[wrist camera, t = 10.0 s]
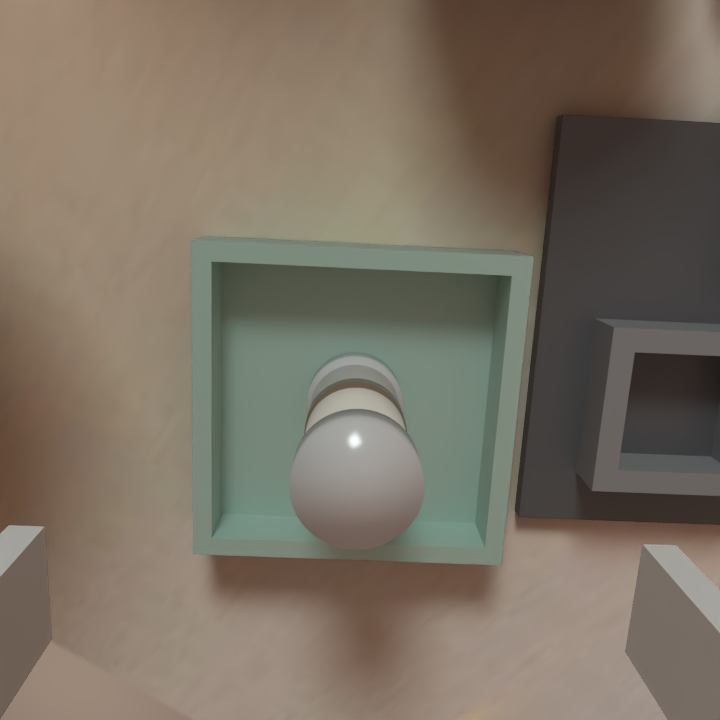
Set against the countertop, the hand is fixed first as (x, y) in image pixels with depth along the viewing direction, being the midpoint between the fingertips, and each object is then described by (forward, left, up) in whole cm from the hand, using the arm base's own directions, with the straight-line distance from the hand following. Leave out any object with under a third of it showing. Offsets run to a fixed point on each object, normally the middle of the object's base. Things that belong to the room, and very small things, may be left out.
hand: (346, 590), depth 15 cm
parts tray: (0, 0, -17) cm, 17 cm away
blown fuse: (0, 0, -16) cm, 16 cm away
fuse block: (+16, +3, -17) cm, 24 cm away
